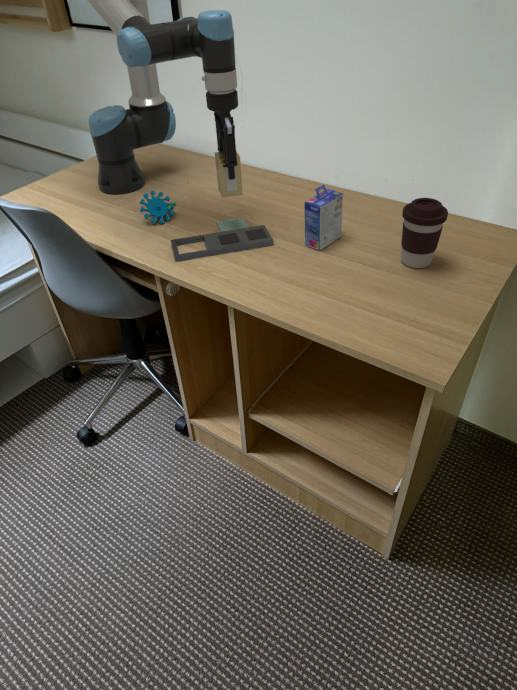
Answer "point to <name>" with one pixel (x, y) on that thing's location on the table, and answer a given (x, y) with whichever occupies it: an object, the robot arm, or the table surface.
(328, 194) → the ink cartridge box
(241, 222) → the translucent green panel
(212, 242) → the rail
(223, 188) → the wooden speaker box
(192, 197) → the table surface
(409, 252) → the coffee cup
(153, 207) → the blue spiky knobbed toy
